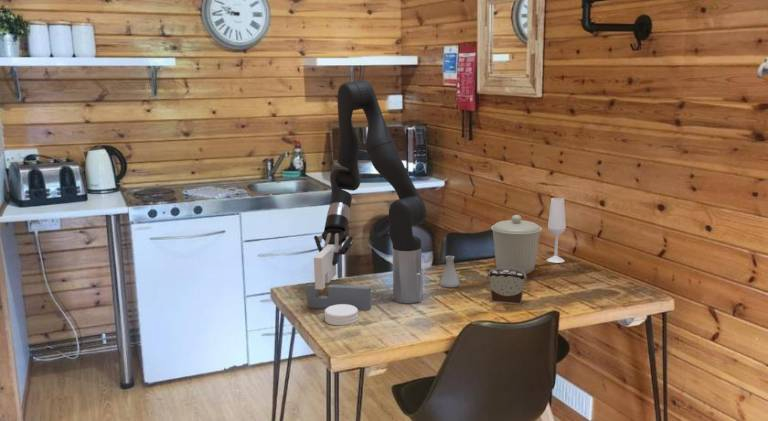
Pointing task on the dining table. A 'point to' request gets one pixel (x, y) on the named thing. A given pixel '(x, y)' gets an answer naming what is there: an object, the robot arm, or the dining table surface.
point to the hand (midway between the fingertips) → (329, 264)
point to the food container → (507, 285)
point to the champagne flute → (556, 224)
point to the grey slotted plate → (340, 296)
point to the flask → (449, 274)
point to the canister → (516, 243)
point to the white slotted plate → (324, 266)
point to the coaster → (341, 314)
